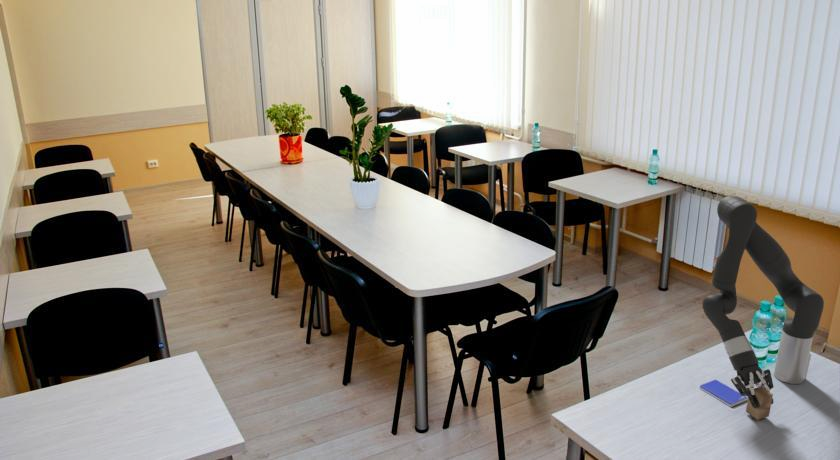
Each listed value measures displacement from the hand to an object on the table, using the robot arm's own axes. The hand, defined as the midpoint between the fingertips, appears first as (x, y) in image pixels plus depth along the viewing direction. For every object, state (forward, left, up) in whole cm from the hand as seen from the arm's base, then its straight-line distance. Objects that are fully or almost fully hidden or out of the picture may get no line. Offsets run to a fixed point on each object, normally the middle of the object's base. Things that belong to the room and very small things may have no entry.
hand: (764, 405), depth 212 cm
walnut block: (0, -2, -4) cm, 5 cm away
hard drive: (+1, -15, -6) cm, 17 cm away
